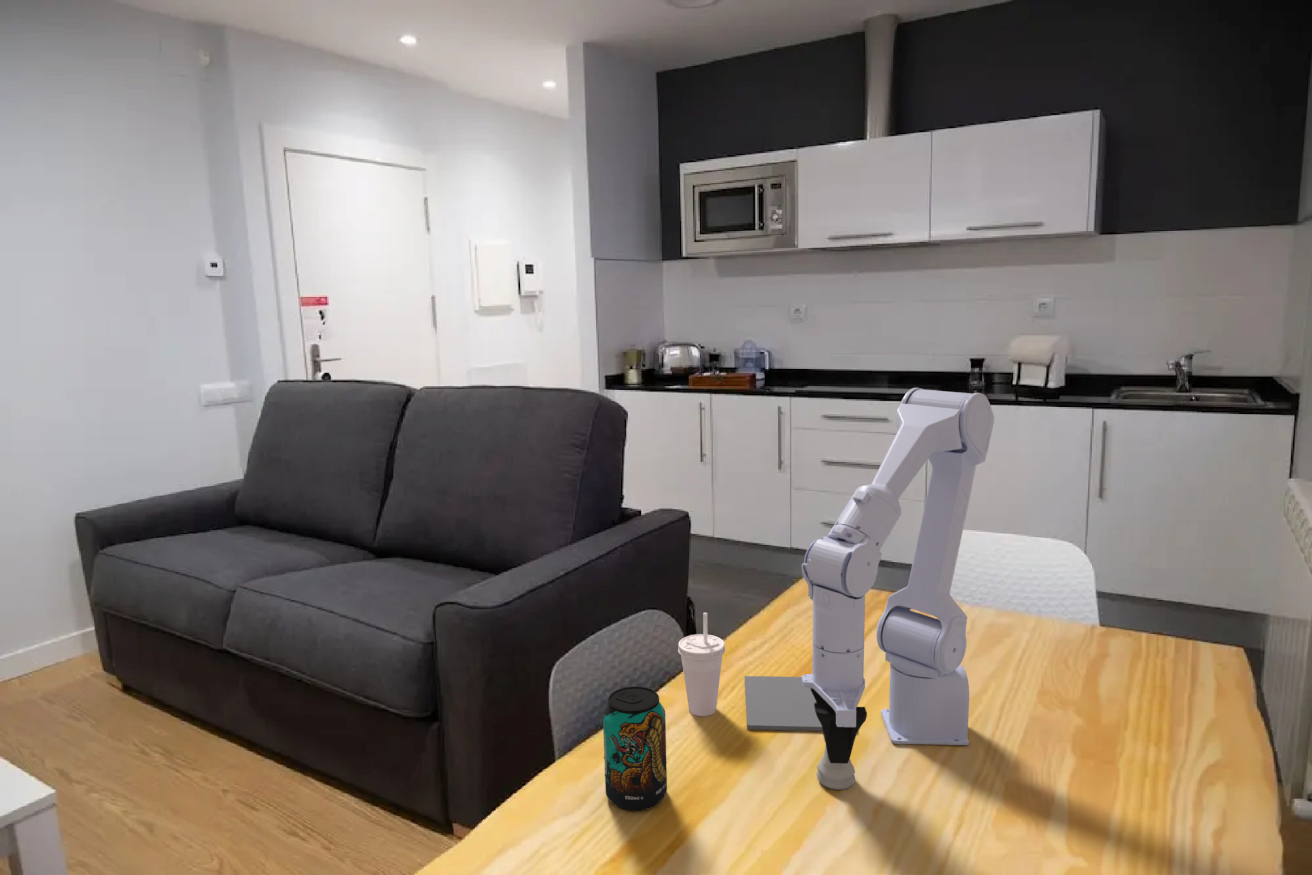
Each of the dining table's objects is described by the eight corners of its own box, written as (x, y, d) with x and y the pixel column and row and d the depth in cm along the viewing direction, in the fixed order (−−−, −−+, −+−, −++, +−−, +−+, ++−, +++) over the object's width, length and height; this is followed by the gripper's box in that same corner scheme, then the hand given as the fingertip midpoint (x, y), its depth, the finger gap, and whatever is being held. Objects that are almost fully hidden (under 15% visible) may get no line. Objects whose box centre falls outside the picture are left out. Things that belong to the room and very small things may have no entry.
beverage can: (645, 822, 90) (642, 720, 88) (593, 802, 94) (589, 704, 91) (678, 788, 96) (676, 692, 94) (628, 771, 99) (625, 678, 97)
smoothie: (722, 723, 110) (721, 623, 108) (675, 719, 111) (673, 620, 109) (728, 699, 116) (727, 605, 114) (683, 696, 117) (681, 602, 115)
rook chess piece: (811, 771, 99) (812, 708, 97) (847, 768, 99) (849, 706, 98) (823, 793, 94) (824, 728, 93) (861, 789, 95) (862, 725, 93)
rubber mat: (841, 681, 121) (841, 677, 121) (855, 731, 107) (855, 727, 107) (744, 679, 122) (744, 675, 122) (747, 729, 108) (747, 725, 108)
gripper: (797, 617, 101) (796, 719, 103) (808, 671, 87) (807, 788, 89) (855, 617, 100) (853, 720, 103) (877, 672, 86) (874, 790, 89)
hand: (836, 752), depth 96 cm, fingers closed on rook chess piece, 3 cm apart
